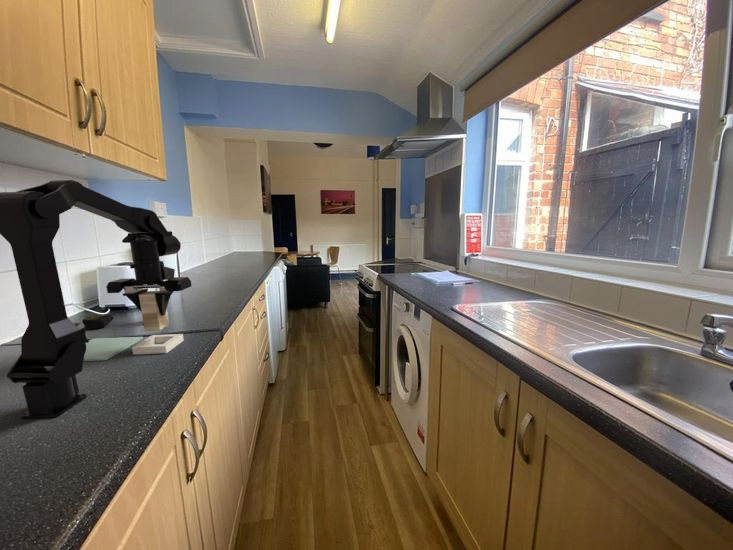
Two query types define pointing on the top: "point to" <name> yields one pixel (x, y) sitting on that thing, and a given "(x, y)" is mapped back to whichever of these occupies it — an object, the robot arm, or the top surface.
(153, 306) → the peg
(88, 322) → the tape measure
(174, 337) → the beige square frame
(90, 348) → the pad
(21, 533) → the top surface
